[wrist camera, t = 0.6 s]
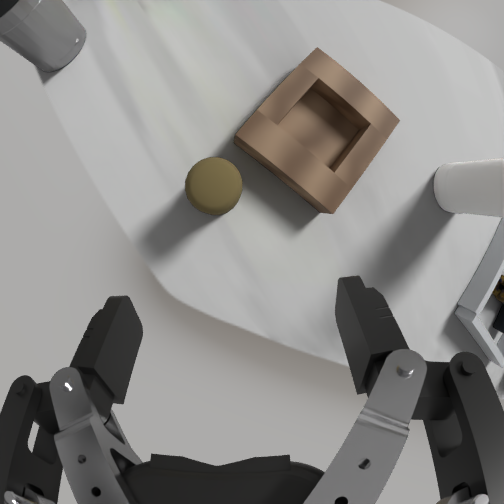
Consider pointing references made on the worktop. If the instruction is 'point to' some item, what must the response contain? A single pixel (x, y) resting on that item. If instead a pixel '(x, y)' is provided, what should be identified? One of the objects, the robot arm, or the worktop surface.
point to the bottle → (471, 187)
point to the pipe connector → (503, 294)
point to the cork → (213, 186)
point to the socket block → (318, 131)
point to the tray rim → (484, 298)
